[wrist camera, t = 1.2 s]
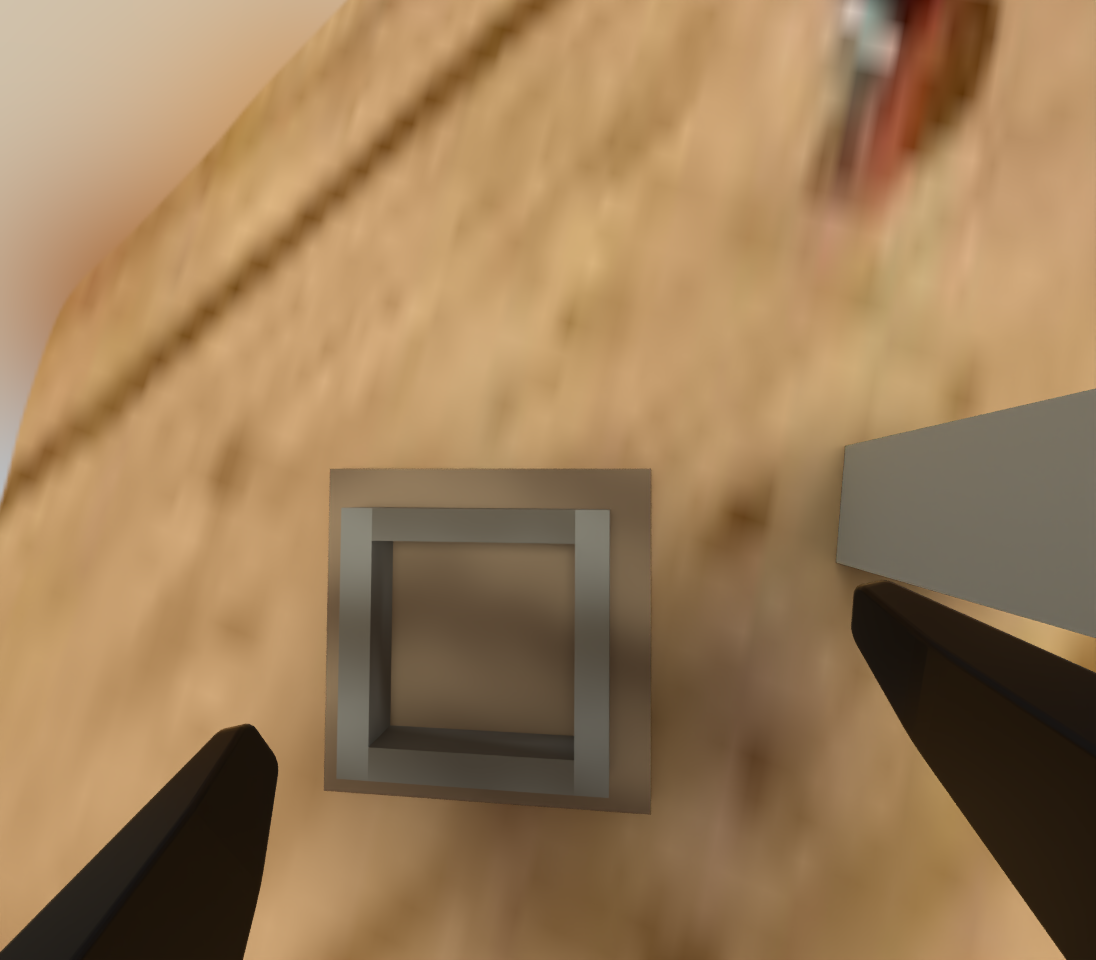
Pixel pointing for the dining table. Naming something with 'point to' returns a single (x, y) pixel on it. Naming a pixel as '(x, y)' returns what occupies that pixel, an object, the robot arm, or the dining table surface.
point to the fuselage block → (983, 510)
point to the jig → (490, 636)
